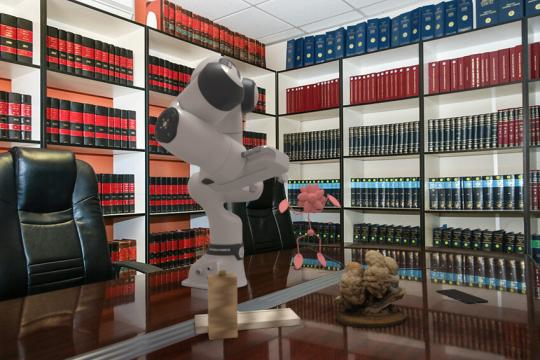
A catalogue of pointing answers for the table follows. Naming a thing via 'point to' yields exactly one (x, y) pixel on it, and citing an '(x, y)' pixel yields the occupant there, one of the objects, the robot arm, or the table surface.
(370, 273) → the carved stone sculpture
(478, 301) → the smartphone
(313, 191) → the figurine
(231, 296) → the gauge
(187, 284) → the robot arm
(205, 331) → the board
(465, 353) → the table surface
